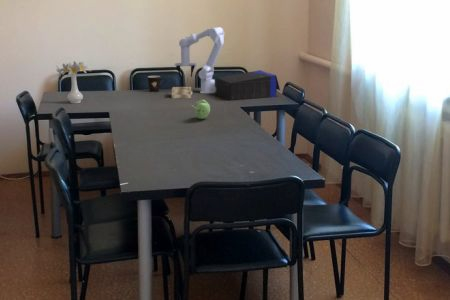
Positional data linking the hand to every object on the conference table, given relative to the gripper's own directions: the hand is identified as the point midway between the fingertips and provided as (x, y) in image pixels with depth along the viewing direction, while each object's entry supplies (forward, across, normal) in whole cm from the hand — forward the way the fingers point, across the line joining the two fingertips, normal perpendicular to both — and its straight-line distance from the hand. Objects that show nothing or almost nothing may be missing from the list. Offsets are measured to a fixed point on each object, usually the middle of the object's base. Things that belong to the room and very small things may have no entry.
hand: (185, 76), depth 391 cm
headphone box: (+10, +41, -19) cm, 47 cm away
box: (+9, -2, -21) cm, 23 cm away
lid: (+10, -2, -7) cm, 13 cm away
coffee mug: (+10, -20, -2) cm, 22 cm away
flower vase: (+10, -67, -39) cm, 78 cm away
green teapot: (+10, +12, -88) cm, 89 cm away
